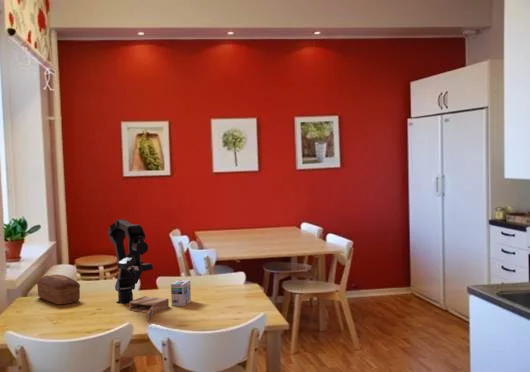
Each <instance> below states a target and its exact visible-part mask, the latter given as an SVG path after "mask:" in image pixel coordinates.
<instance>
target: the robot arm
mask: <svg viewBox="0 0 530 372" xmlns="http://www.w3.org/2000/svg"><path fill="white" fill-rule="evenodd" d="M107 236H108V238H109V240H110V242H111V243H112V244H113V246H114V250H115V251H114V252H115V256H116V260H117V261H116V262H117V268H118V274H117V276H116V278H117V280H116V282H115V285H114V289H115V291H116V292H117V294H118V295H117V296H118V297H117V298H118V299H117V301H116V303H118V304H124V305H126V304H129V302H130V301H133V300H134V296H133V294H134V293H133V290H135V289H136V284H138V283H139V280H140V278H141V275H142V274H143V272H148V271H152V270H154V265H153V263H151V262H150V263H149V262H148V263H147V262H145V263H144V261H143V260H142V256H143V255H144V254H146V253H147V252H148V250H149V245H148V243H147V242H145V240H146V234H145V230H144V228H143V226H142V225H141V224H133V223H131V222H130V221H127V220H126V219H124V218H121V219H120V218H119V219H116V220H114V223H112V224H111V225H109V227H108V229H107ZM126 238H127V243H128V246H127V247H128V253H126V248H125V243H124V241H125V239H126Z"/></svg>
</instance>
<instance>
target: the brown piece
mask: <svg viewBox="0 0 530 372" xmlns="http://www.w3.org/2000/svg"><path fill="white" fill-rule="evenodd" d="M128 304H129V305H128V306H129V311H131V312H132V311H133V312H141V313H147V312H148V311H149V310H150V308H151V307H152V306H153V308H154V312H153V314H155V313H157V312H160V311H162V310H164V309H167V308H169V307H170V306H169V305H170V304H169V298H164V297H155V296H147V295H145V296H142V297H139V298H136V299H133V301H130V302H129V303H128Z"/></svg>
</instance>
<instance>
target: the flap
mask: <svg viewBox="0 0 530 372" xmlns="http://www.w3.org/2000/svg"><path fill="white" fill-rule="evenodd" d="M153 312H154V308H153V306H152V307H151V308H150V310H149V311H148V312H146V314H145V316H146V321H149V320H150V318H151V317H152V315H153V314H154V313H153Z"/></svg>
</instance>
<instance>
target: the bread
mask: <svg viewBox="0 0 530 372" xmlns="http://www.w3.org/2000/svg"><path fill="white" fill-rule="evenodd" d="M36 286H37V296H38V297H39V298H40V299H42V300H45V301H47V302H50V303H53V304H55V305H68V304H72V303H76V302H78V301H79V300H80V297H81V291H80V289H81V284H80V283H79V282H78V281H77V280H75V279H73V278H71V277H69V276H66V275H62V274H50V275H44V276H42V277H39V278H38V279H37V280H36Z"/></svg>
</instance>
